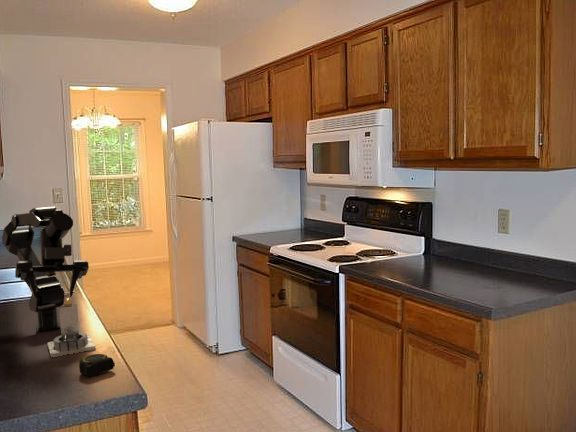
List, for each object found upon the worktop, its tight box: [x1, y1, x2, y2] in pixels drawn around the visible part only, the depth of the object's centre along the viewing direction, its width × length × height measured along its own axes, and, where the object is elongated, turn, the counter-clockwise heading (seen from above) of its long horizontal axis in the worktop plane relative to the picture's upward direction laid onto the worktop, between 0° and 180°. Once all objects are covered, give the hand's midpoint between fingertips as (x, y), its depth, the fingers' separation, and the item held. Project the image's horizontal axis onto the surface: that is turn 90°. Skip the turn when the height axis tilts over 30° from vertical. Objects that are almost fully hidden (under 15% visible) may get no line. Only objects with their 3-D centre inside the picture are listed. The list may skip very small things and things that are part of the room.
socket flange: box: [47, 332, 97, 359], centre depth 148 cm, size 11×11×3 cm
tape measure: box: [78, 353, 116, 377], centre depth 130 cm, size 7×7×4 cm
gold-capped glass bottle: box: [58, 297, 80, 341], centre depth 148 cm, size 4×4×12 cm
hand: (53, 297), depth 151 cm, fingers open, 9 cm apart
